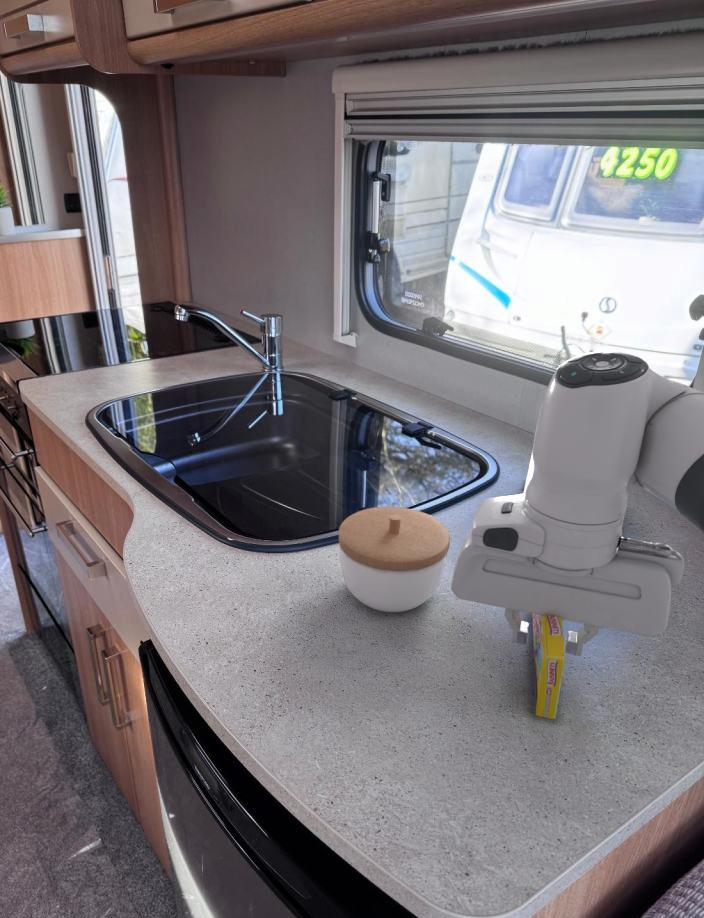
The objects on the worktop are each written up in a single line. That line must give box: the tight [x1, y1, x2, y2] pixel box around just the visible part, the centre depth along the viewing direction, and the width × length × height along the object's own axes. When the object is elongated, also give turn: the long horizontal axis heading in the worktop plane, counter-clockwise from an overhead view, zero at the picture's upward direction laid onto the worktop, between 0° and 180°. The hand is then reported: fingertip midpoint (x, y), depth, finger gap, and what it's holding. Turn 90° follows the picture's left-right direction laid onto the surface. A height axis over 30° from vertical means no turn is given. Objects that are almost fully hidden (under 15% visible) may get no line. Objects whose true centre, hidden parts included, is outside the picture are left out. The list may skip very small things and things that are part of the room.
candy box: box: [531, 613, 566, 720], centre depth 74 cm, size 16×2×8 cm, turn 167°
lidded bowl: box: [338, 506, 451, 613], centre depth 84 cm, size 13×13×11 cm
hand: (545, 645), depth 74 cm, fingers open, 4 cm apart
